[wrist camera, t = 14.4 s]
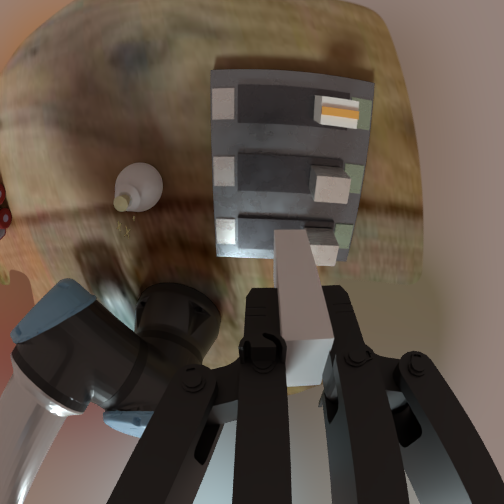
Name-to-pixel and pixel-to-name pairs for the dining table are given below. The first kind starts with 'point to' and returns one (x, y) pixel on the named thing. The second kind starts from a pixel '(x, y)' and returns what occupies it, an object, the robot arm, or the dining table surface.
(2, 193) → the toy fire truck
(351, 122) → the knob
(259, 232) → the panel
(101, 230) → the dining table surface
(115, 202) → the ornament
